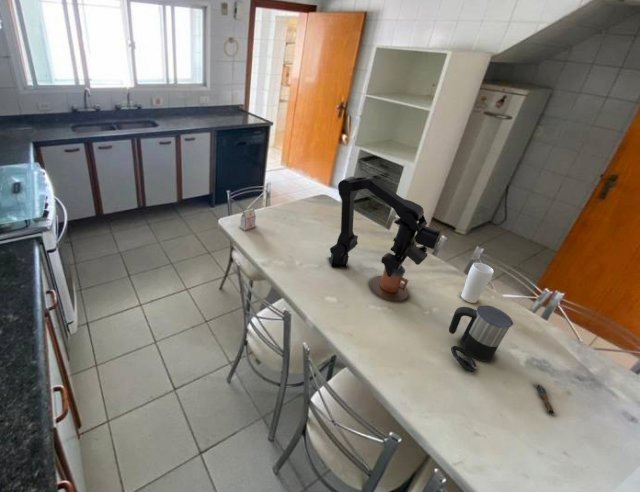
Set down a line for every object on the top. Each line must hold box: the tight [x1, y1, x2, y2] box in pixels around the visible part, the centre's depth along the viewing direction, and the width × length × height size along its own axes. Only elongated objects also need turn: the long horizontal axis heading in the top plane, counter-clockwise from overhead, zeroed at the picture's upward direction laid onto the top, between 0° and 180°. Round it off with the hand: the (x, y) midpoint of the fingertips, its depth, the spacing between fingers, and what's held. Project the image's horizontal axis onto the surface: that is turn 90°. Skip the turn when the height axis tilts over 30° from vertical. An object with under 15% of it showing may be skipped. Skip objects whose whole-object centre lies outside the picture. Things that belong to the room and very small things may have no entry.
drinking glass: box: [460, 262, 495, 304], centre depth 124 cm, size 7×7×15 cm
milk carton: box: [239, 207, 257, 231], centre depth 166 cm, size 4×7×10 cm, turn 129°
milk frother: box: [448, 304, 514, 372], centre depth 100 cm, size 14×16×15 cm
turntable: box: [369, 275, 409, 303], centre depth 130 cm, size 14×14×1 cm
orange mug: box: [380, 265, 409, 293], centre depth 127 cm, size 9×7×9 cm
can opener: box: [536, 384, 555, 414], centre depth 91 cm, size 9×2×1 cm, turn 152°
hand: (393, 271), depth 126 cm, fingers open, 9 cm apart
